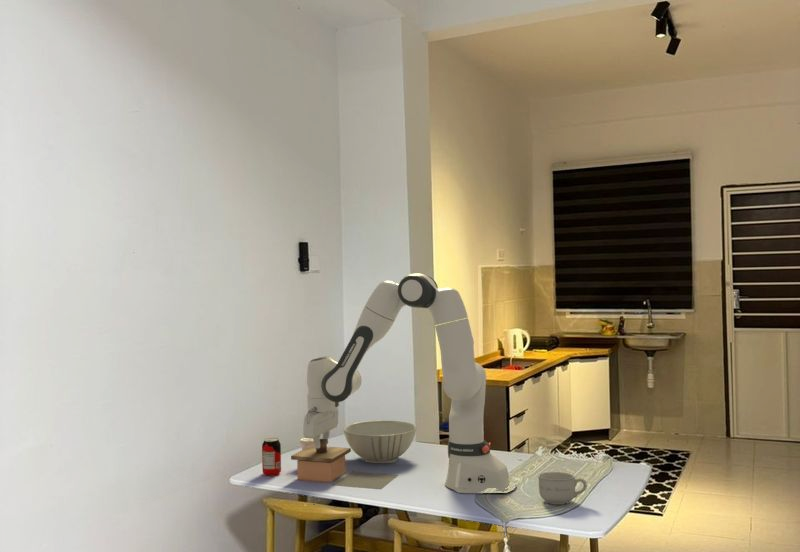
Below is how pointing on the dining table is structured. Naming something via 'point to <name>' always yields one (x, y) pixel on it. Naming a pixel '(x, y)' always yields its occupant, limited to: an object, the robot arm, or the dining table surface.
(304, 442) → the smoothie
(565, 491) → the teacup
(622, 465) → the dining table surface
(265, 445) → the beverage can
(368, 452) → the decorative bowl
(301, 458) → the walnut lid
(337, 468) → the terracotta open box
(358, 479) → the rubber mat
